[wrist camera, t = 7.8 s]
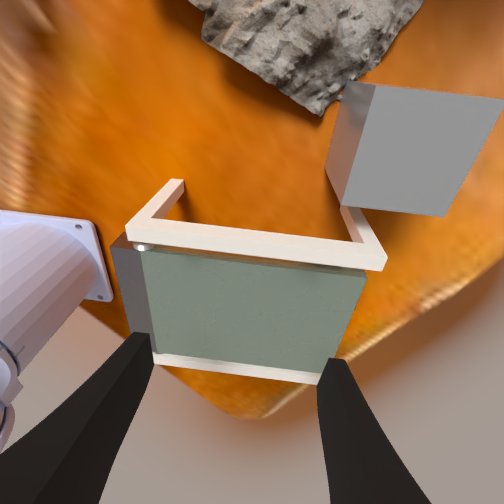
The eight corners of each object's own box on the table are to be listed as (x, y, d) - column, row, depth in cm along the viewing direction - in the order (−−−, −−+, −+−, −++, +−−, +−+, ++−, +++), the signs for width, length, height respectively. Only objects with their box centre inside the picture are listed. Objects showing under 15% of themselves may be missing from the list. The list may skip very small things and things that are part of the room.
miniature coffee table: (181, 296, 24) (152, 363, 18) (171, 178, 18) (125, 225, 13) (318, 314, 24) (329, 386, 18) (355, 199, 18) (388, 257, 12)
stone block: (324, 168, 17) (340, 205, 12) (345, 80, 14) (376, 85, 10) (399, 176, 17) (444, 217, 12) (434, 89, 14) (507, 99, 10)
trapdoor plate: (144, 332, 19) (135, 351, 18) (123, 228, 14) (108, 243, 13) (322, 356, 19) (326, 376, 18) (361, 257, 14) (368, 274, 13)
